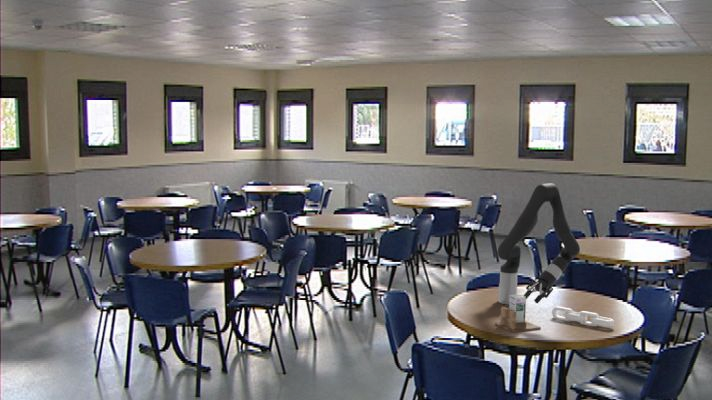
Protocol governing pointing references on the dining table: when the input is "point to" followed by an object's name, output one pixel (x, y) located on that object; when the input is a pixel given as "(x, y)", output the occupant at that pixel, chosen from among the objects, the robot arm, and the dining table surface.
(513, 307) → the syrup box
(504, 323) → the dock
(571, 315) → the chain
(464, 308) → the dining table surface
